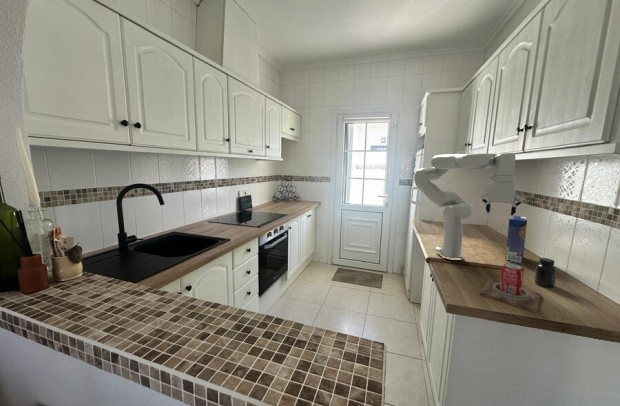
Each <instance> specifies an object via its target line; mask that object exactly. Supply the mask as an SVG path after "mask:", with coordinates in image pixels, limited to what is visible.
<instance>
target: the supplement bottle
mask: <svg viewBox="0 0 620 406" xmlns="http://www.w3.org/2000/svg"><path fill="white" fill-rule="evenodd" d="M556 279H557V267H556V266H555V260H554V259H553V258H552V259H551V258H547V257H540V258H539V262H538V263H537V264H536V265H535V271H534V283H535V285H537V286H540V287H543V288H545V289H546V288H548V289H552V288H555V287H556Z"/></svg>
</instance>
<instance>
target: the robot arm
mask: <svg viewBox="0 0 620 406" xmlns="http://www.w3.org/2000/svg"><path fill="white" fill-rule="evenodd" d="M430 164H431V166H432V167H423V168H420V169H419V168H418V169H417V170H416V171H415V173H414V176H413V179H414V184H415V186H416V187H417V188H418V189H419V190H420V191H421V192H422V194H424V195H425V196H426V197H427V198H428V199H429V200H430V201H431V202H432V204H434V206H435V207H437V208H441V209H442V208H444V210H443V212H442V217H443V237H442V238H443V240H442V241H443V243H442V247H438V246H436V247H435V252H440V253H439V254H441V255H443V256H445V257H449V258H460V259H463V258H464V255H462V247H463V245H462V244H463V242H462V241H463V232H464V231H463V230H464V228H463V224H462V220H463V221H464V220H466V219H469V218H470V217H471V216H472V214H473V210H472V207H471V206H470V205H469V203H467V202H466V201H465V200H464V199H463V198H462V197H461V196H459V194H458V193H456V192H454V191H451V190H448V191H447V190H446V191H444V190H442V189H441V188H439V187H438V185H436V184H435V183H433V181H437V180H439V179H441V177H443V176H444V175H445V174H446V173H447V172H449V170H462V169H463V170H468V169H469V170H483V169H484V170H485V169H494V172H493V173H494V175H492V176H490V177H489V178H490V180H493V181H491V182H490V185H489V190H488V192H487V193H484V194H482V195H480V198H481V200H482V202H483V203H484V204H485V211H486V213H487V214H489V213H490V212H491V203H503V204H510V205H511V210H510V215H511V216H515V214H516V212H517V207H518V206H520V205H521V204H522V203H523V202H524V201H525V200H526V199H525V197H523V196H521V195H518V194H516V182H515V181H514V175H515V168H516V167H515V165H516V154H515V153H511V152H510V153H509V152H505V153H502V152H501V153H468V154H467V153H465V154H463V153H451V154H449V153H448V154H447V153H446V154H445V153H443V154H437V155H435V156H433V157H432V159H431V161H430ZM487 196H488V197H487ZM486 197H487V198H486ZM515 199H517V200H518V201H517V202H515V201H516V200H515ZM463 260H464V259H463Z"/></svg>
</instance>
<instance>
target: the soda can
mask: <svg viewBox="0 0 620 406" xmlns="http://www.w3.org/2000/svg"><path fill="white" fill-rule="evenodd" d="M522 268H523V267H522V266H521V265H519V264H516V263H513V262H510V263H509V262H505V263H504V265H503V266H502V267H501V271H500V279H499V280H500V290H501V291H503V292H504V293H507V294H510V295H520V293H521V289H522V288H523V278H524V271H523V269H522Z"/></svg>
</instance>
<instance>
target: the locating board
mask: <svg viewBox="0 0 620 406" xmlns="http://www.w3.org/2000/svg"><path fill="white" fill-rule="evenodd" d="M479 295H480V296H483V297H485V298H486V297H487V298H489V299H492V300H495V301H498V302H502V303H504V304H508V305H512V306H514V307H517V308H520V309H525V310H528V311H532V312H534V313H537V311H538V310H537V309H538V306H539V303H540V300H541V296H542V293H541V292H537V291H533V290H529V289H526V288H523V287H522V289H521V293H520V295H510V294H507V293H504V292H503V291H501V290H500V282H499V281H496V280H492V279H488V281H487V282H486V283H485V285H484V286H483V287H482V289H481V290H480V292H479Z"/></svg>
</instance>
